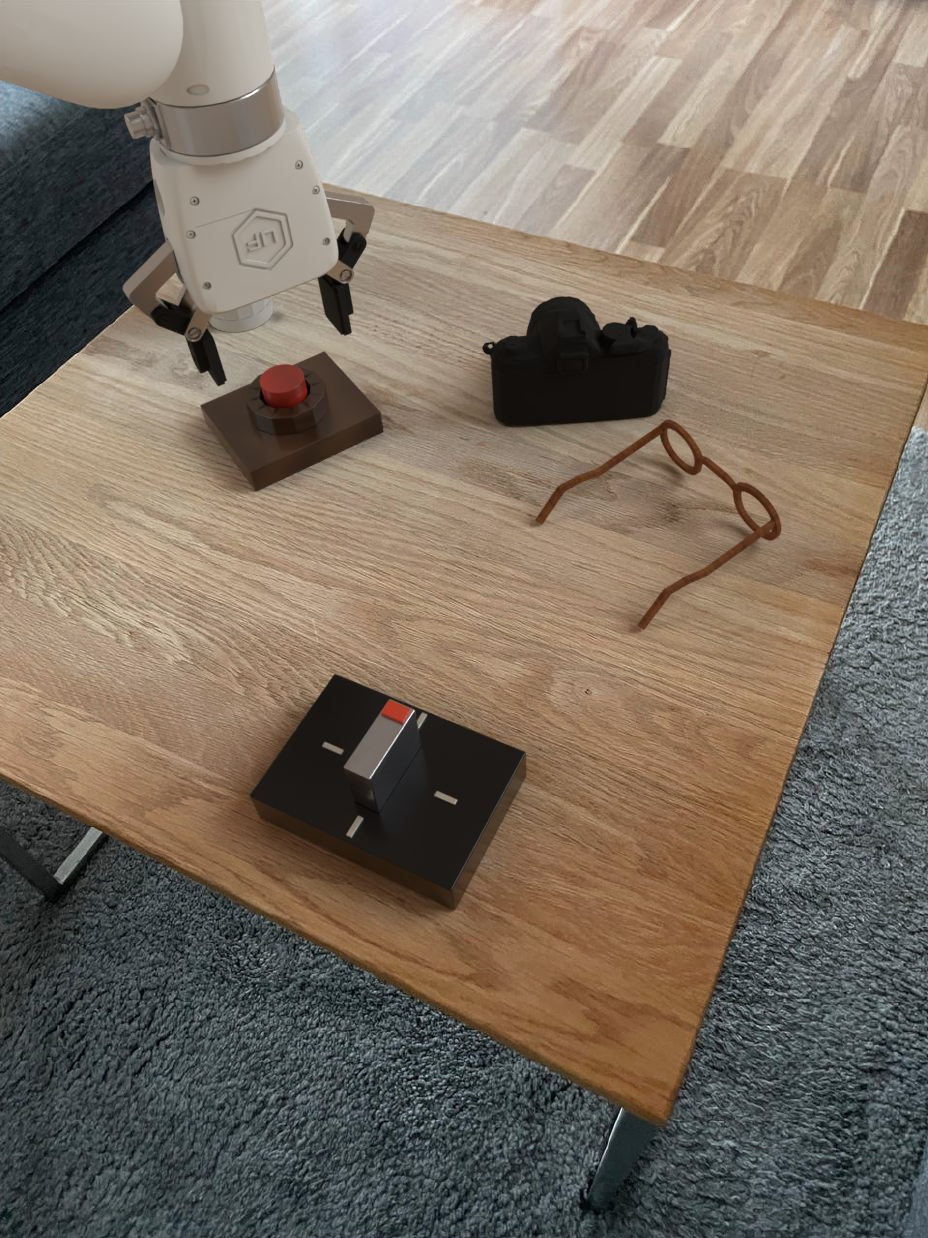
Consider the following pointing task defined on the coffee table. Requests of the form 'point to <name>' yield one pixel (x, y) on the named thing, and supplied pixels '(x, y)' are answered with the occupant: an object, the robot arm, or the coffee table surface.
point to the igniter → (292, 423)
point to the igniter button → (283, 386)
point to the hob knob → (383, 755)
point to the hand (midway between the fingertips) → (278, 349)
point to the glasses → (698, 462)
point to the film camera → (577, 368)
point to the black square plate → (393, 794)
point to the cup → (244, 317)
